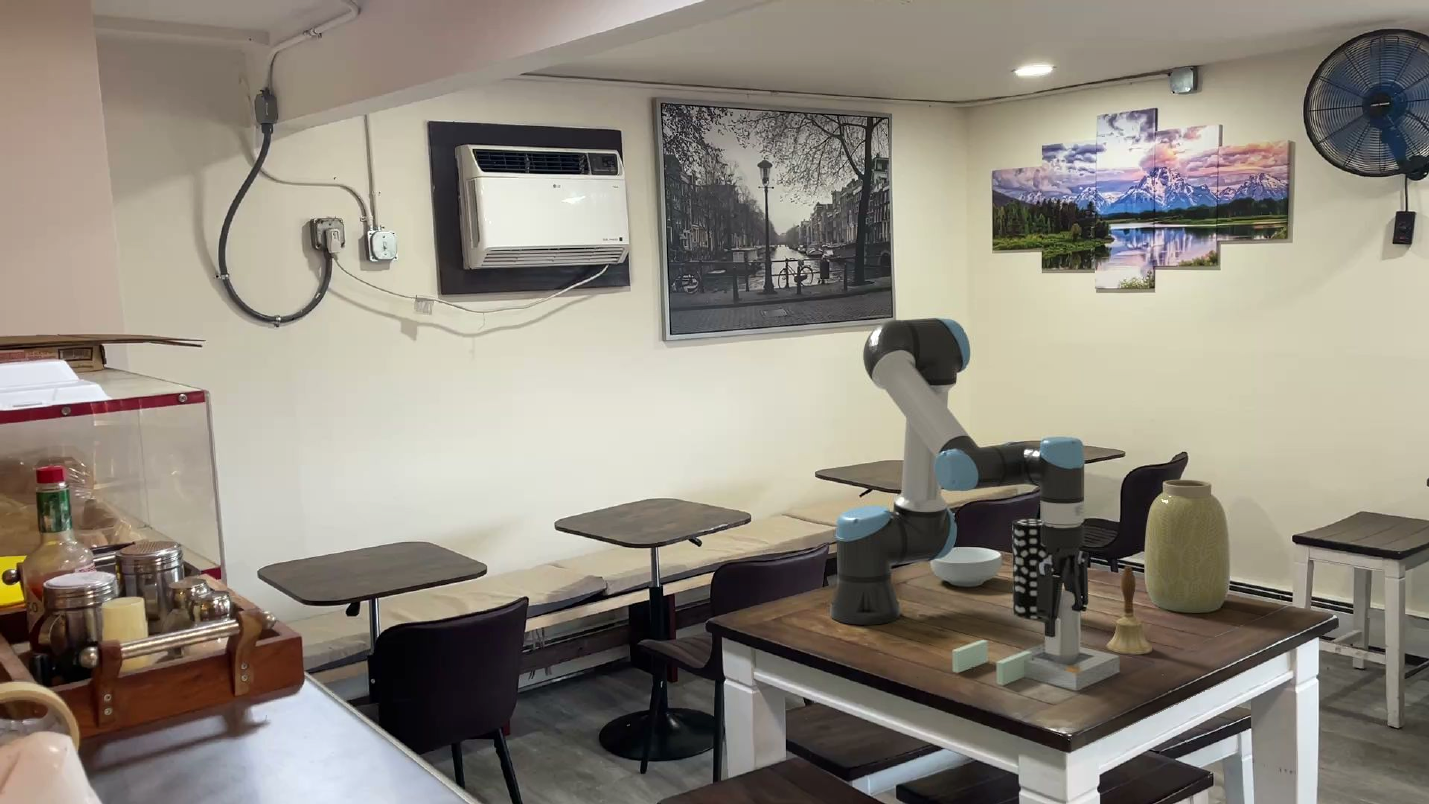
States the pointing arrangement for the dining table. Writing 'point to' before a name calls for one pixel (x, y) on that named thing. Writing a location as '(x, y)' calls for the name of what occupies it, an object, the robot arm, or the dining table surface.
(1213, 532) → the vase
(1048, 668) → the socket
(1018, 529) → the white-spotted black cylinder
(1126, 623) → the hand bell
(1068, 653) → the salt shaker
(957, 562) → the cereal bowl
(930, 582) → the dining table surface
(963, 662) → the pale green rectangular blocks
